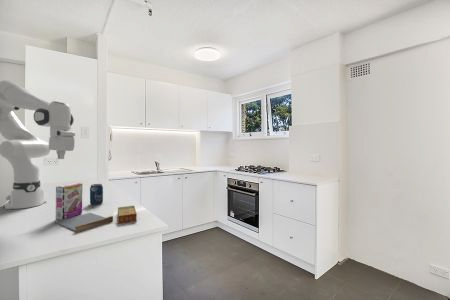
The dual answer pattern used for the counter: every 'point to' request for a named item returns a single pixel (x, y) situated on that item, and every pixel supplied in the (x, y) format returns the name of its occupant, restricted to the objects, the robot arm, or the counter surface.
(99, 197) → the soda can
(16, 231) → the counter surface
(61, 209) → the candy bar box
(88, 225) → the stop rail
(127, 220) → the carton
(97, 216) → the mat
